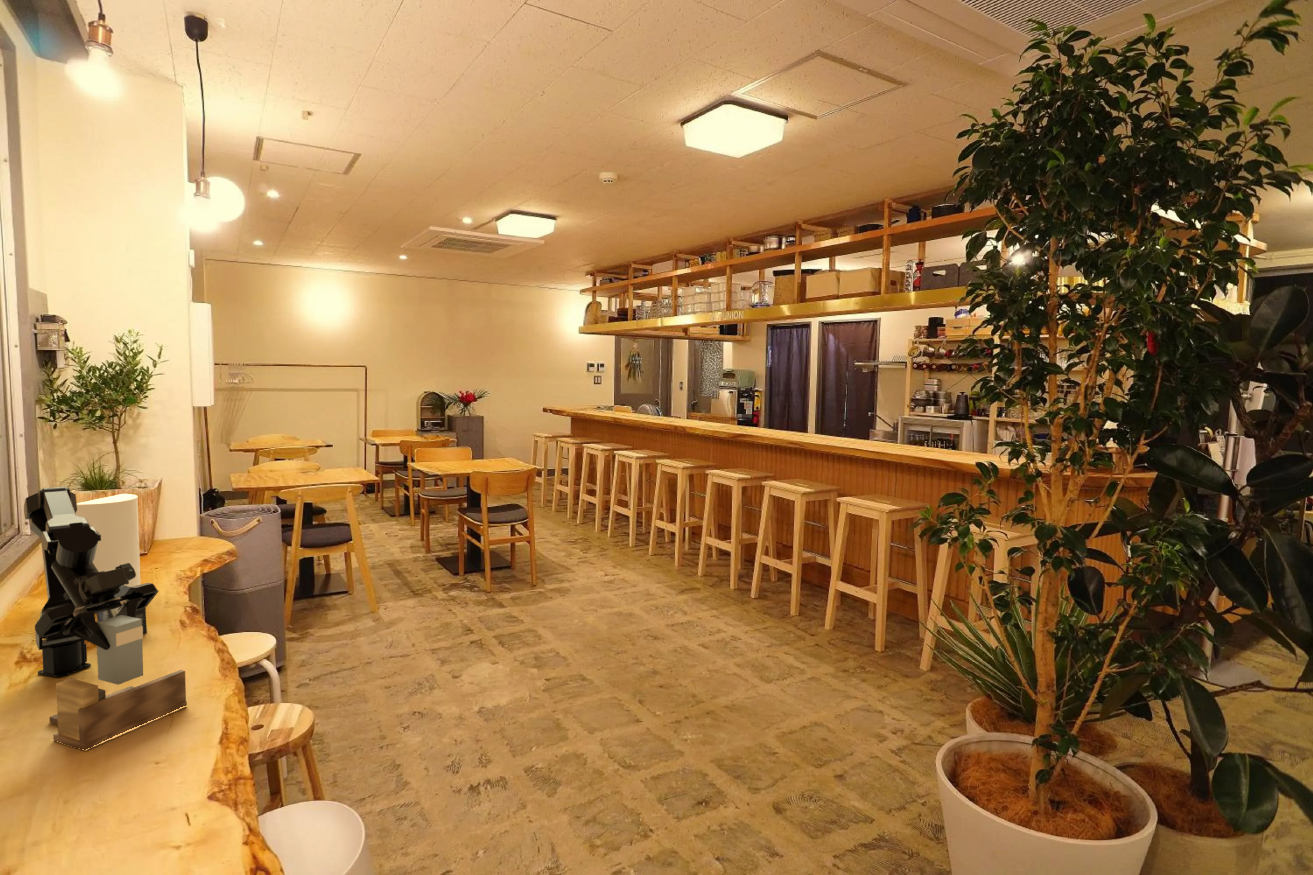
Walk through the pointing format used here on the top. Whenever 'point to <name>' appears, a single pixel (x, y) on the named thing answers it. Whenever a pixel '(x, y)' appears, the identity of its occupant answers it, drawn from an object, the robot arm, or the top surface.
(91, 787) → the top surface
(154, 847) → the top surface
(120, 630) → the grey upright block
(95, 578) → the robot arm
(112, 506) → the cylinder
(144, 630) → the small box
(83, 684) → the wooden l-bracket
